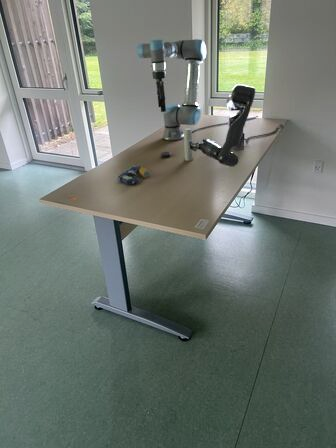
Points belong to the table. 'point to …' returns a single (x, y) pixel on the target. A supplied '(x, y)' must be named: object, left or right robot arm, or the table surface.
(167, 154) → the lid
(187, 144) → the bottle
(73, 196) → the table surface
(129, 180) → the spray gun
